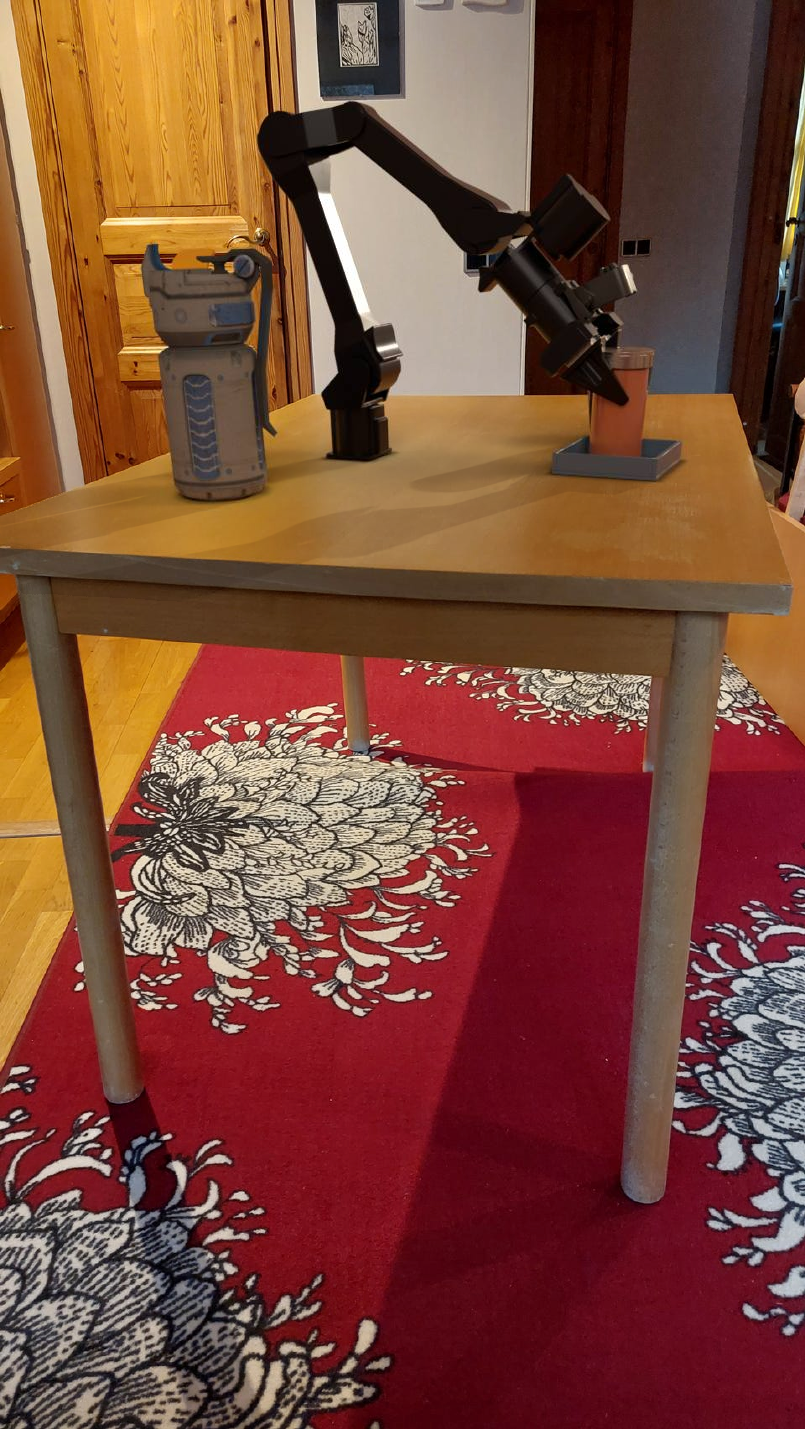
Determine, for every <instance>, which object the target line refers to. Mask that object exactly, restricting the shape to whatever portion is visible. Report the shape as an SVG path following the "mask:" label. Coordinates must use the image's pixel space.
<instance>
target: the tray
mask: <svg viewBox="0 0 805 1429" xmlns="http://www.w3.org/2000/svg"><path fill="white" fill-rule="evenodd" d="M589 444H590V435H583V436H581V437H579V438H577V439H575V440H573V441H571V442H570V443H568V444H566V445H564V446H562V447H560V448H558V449H557V450H555V451H553V452H552V455H551V456H552V458H551V459H552V460H551V474H552V475H565V476H576V477H577V476H578V477H591V478H593V477H594V478H605V479H620V480H621V479H622V480H634V481H636V480H637V481H648V482H649V481H650V482H656V481H658V480H659V479H661V477H663V476H664V475H665V474H666V473H668V472H669V471H670V470H671V469H672V468H674V467H675V466H676V465H677V464H679V463H680V462H681V458H682V448H683V440H682V439H665V438H663V439H661V438H644V437H643V440H642V451H641V457H631V456H614V455H597V454H589Z"/></svg>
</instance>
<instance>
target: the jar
mask: <svg viewBox="0 0 805 1429" xmlns="http://www.w3.org/2000/svg"><path fill="white" fill-rule="evenodd" d="M612 370H613V371H614V373H615V375H616V376H617V378H618V380H619V381H620V383H621V385H622V386H623V388H624V390H625V392H626V393H627V395H628V397H629V401H628V402H627V403H626V404H625V405H624V406H620V405H618V404H616V403H613V402H611V401H609V400H607V399H605V398H603V397H601V396H599V395H597V394H595V393H593V400H592V415H591V429H590V428H589V436H590V444H589V454H597V455H614V456H631V457H641V451H642V440H643V438H644V427H645V416H646V405H647V400H646V397H647V398H648V395H647V386H648V375H649V367H648V368H639V369H612Z"/></svg>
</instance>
